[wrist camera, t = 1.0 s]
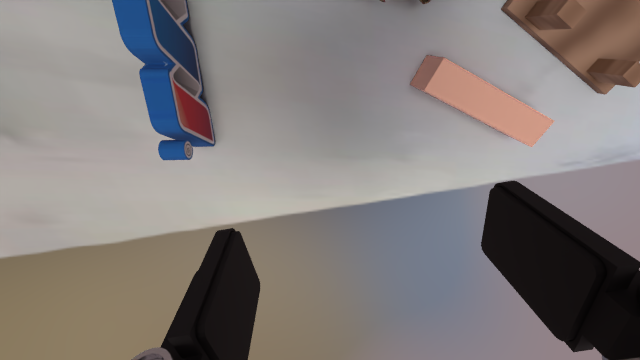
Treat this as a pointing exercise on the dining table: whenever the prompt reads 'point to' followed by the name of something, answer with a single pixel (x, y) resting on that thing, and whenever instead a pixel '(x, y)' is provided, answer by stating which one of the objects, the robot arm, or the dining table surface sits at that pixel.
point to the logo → (167, 73)
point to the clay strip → (480, 100)
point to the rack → (586, 36)
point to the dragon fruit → (423, 0)
